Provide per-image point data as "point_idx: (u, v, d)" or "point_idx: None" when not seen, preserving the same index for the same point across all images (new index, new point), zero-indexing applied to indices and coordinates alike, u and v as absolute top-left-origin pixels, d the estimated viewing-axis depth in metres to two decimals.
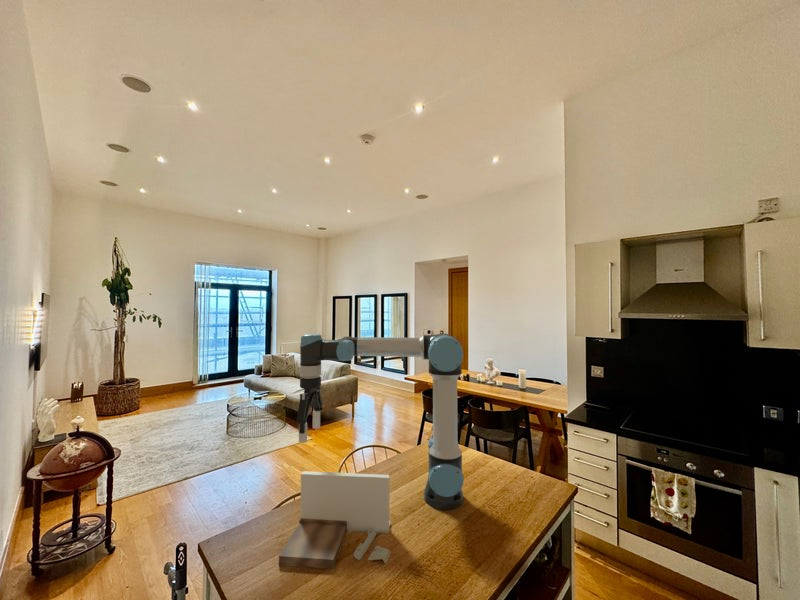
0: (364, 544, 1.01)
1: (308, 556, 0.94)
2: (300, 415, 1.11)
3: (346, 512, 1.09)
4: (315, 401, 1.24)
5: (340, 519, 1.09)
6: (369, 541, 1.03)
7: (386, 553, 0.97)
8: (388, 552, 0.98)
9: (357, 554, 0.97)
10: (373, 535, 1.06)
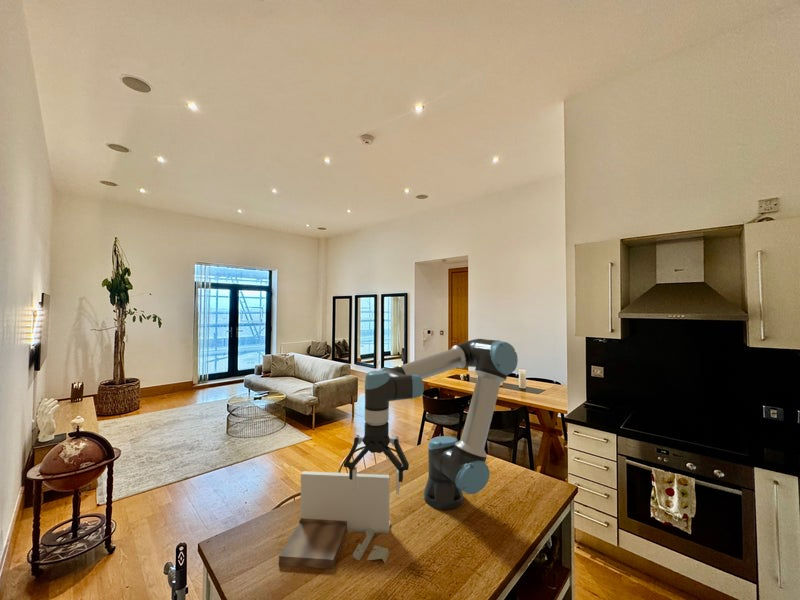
0: (363, 544, 1.01)
1: (308, 556, 0.94)
2: None
3: (346, 512, 1.09)
4: None
5: (340, 519, 1.09)
6: (367, 541, 1.03)
7: (385, 553, 0.98)
8: (387, 551, 0.98)
9: (356, 554, 0.97)
10: (371, 535, 1.06)
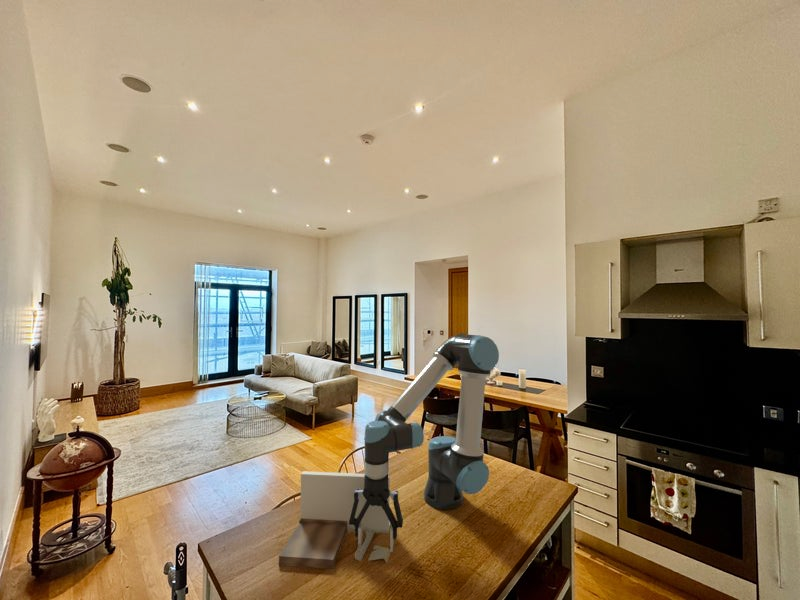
0: (363, 544, 1.01)
1: (308, 556, 0.94)
2: None
3: (346, 512, 1.09)
4: None
5: (340, 519, 1.09)
6: (368, 541, 1.03)
7: (386, 552, 0.98)
8: (388, 551, 0.99)
9: (357, 555, 0.96)
10: (371, 535, 1.06)
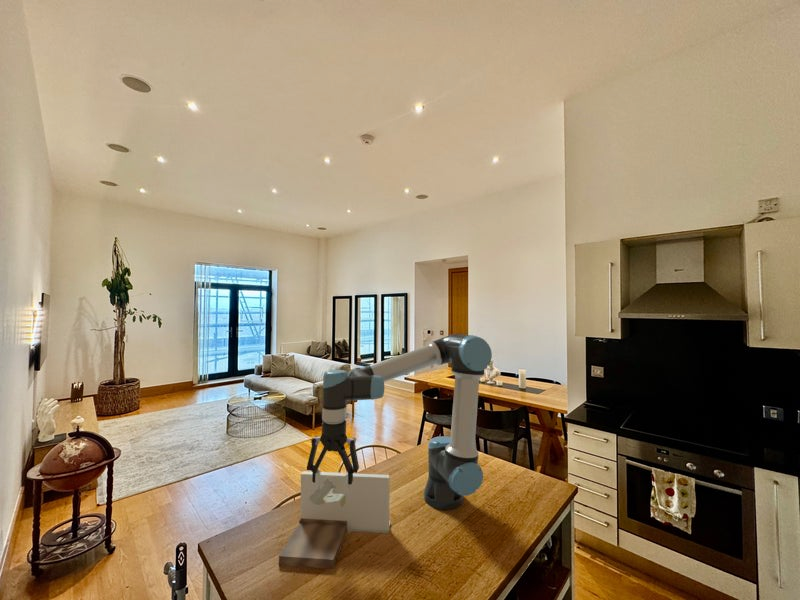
0: (320, 491, 1.02)
1: (308, 556, 0.94)
2: None
3: (346, 512, 1.09)
4: None
5: (340, 519, 1.09)
6: (325, 490, 1.04)
7: (342, 497, 0.99)
8: (344, 496, 1.00)
9: (313, 498, 0.97)
10: (329, 486, 1.07)
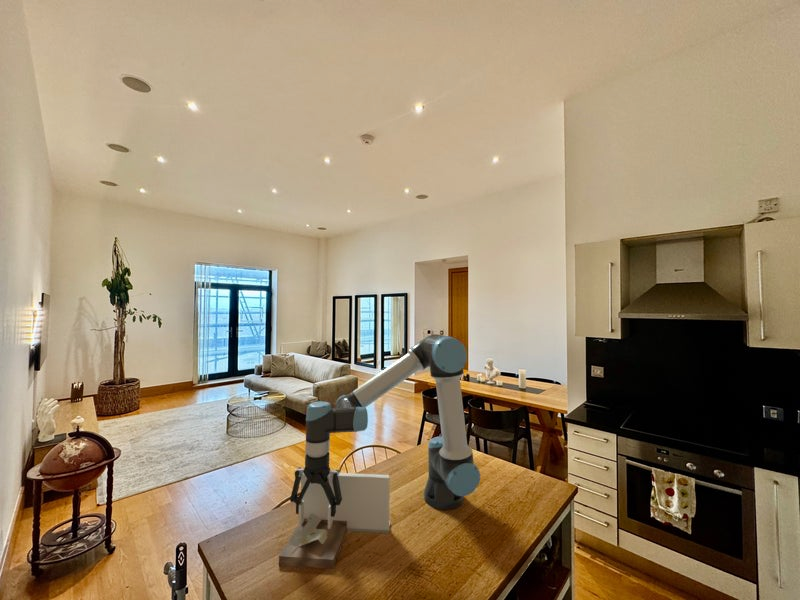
0: (302, 530, 1.03)
1: (308, 556, 0.94)
2: None
3: (346, 512, 1.09)
4: None
5: (340, 519, 1.09)
6: (309, 527, 1.05)
7: (322, 533, 0.99)
8: (324, 531, 1.00)
9: (293, 541, 0.98)
10: (314, 520, 1.08)
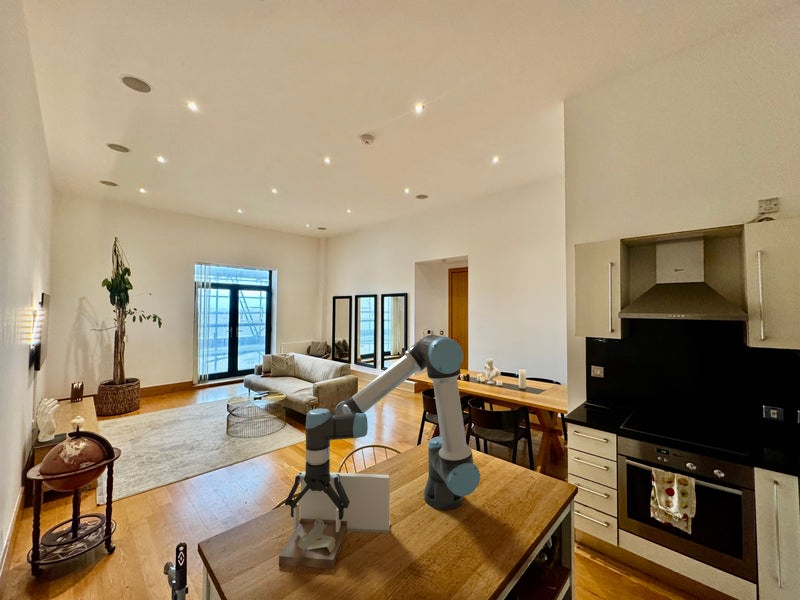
0: (310, 533, 1.01)
1: (308, 556, 0.94)
2: None
3: (346, 512, 1.09)
4: None
5: None
6: (315, 531, 1.04)
7: (330, 541, 0.98)
8: (333, 539, 0.99)
9: (301, 544, 0.97)
10: (320, 525, 1.07)
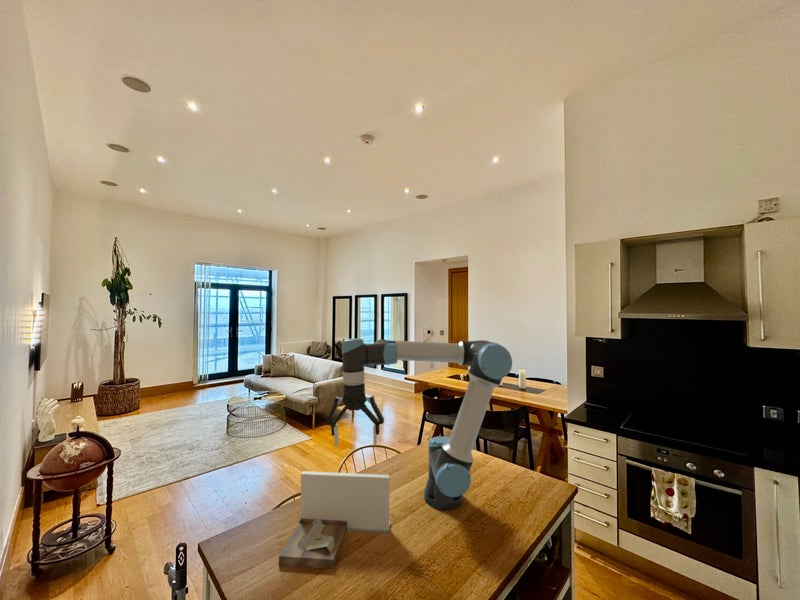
0: (309, 534, 1.01)
1: (308, 556, 0.94)
2: None
3: (346, 512, 1.09)
4: None
5: (340, 519, 1.09)
6: (314, 531, 1.04)
7: (330, 541, 0.98)
8: (332, 539, 0.99)
9: (300, 544, 0.97)
10: (318, 525, 1.06)
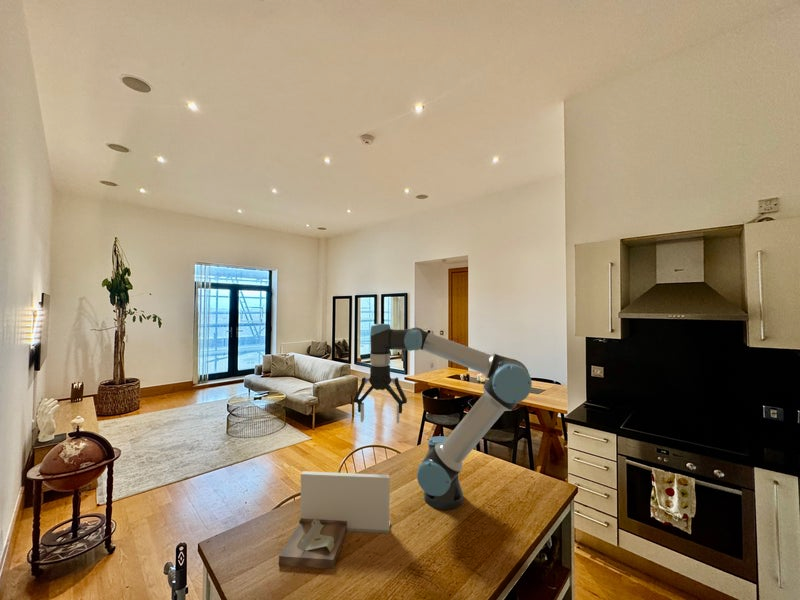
0: (308, 534, 1.01)
1: (308, 556, 0.94)
2: (356, 394, 1.24)
3: (346, 512, 1.09)
4: None
5: (340, 519, 1.09)
6: (313, 531, 1.03)
7: (330, 540, 0.98)
8: (332, 539, 0.99)
9: (300, 545, 0.96)
10: (317, 525, 1.06)
